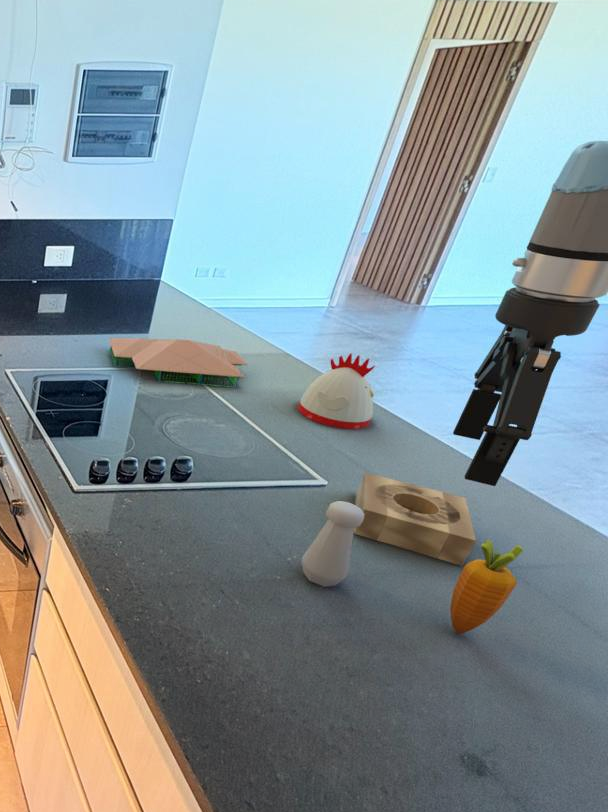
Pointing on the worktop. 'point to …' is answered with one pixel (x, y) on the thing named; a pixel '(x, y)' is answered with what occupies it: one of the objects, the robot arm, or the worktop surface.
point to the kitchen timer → (340, 396)
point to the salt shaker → (333, 545)
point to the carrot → (482, 588)
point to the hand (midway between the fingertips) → (472, 457)
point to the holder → (415, 518)
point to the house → (178, 357)
